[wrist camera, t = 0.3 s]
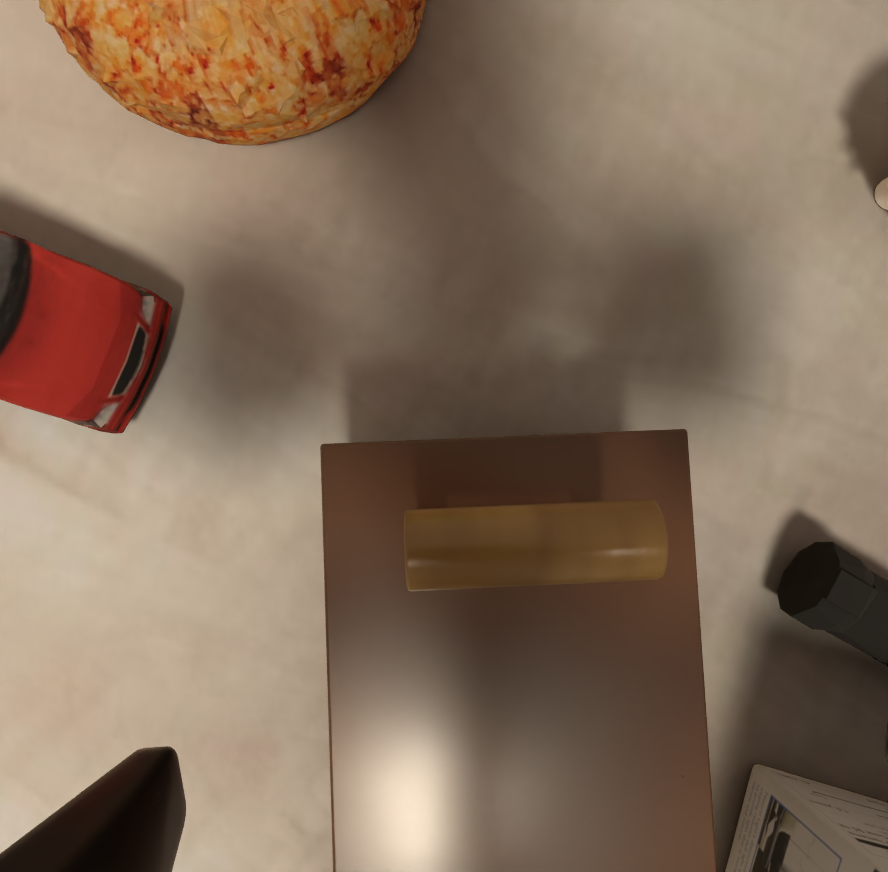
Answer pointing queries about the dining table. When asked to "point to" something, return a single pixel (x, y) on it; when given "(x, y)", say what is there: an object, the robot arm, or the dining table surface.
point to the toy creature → (882, 193)
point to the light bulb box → (807, 827)
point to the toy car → (75, 337)
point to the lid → (515, 655)
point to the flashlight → (838, 597)
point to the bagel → (238, 59)
